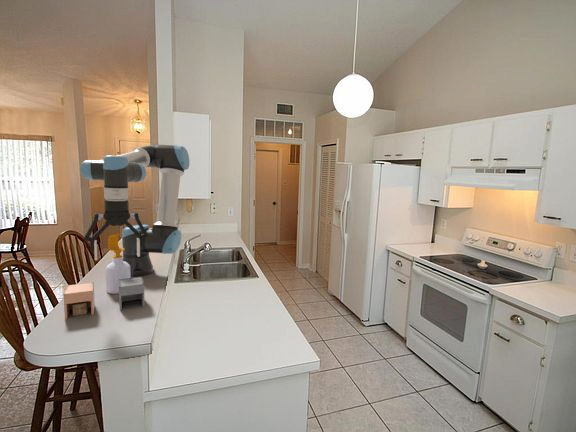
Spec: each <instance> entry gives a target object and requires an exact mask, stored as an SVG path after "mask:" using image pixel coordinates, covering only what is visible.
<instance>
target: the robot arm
mask: <svg viewBox="0 0 576 432" xmlns="http://www.w3.org/2000/svg"><path fill="white" fill-rule="evenodd" d="M146 168H156V169H159V172H160V173H161V181H160V190H159V199H158V206H157V216H156V221H155V222H154V223H152V228H150V225H149V224H142V222H141V220H140V218H139V217H140V216H139V214H138V213H139V212H134V213H133V212H132V213H130V212H129V201H128V199H129V183H138V182H143V180H145V178H146V176H147V169H146ZM189 168H190V156H189V153H188V150H187V148H186V147H185V146H183V145H177V144H175V145H174V144H173V145H171V144H170V145H169V144H157V143H155V144H149V145H144V146H140V147H136V148H133V149H132V151H130V152H126V153H122V154H117V155H105V156H104V157H103V158H102V159H97V160H94V159H88V160H84V161H82V162H81V164H80V166H79V170H80V175H81V176H82V177H83V178H84V180H85V179H86V180H90V181H103V193H104V194H103V196H104V197H103V198H104V199H105V200H104V203H103V204H104V213H103V214H102V213H98V212H95V213H94V217H93V220H92V222H91V224H90V226H89V228H88V229H87V231H86V233H85V235H84V237H83V241H86V242H89V244H90V249H89V250H90V251H92V252H94V261H98V243H97V242H98V241H97V239H98V238H99V236H100V235H101V234H103V232H105V230H106V229H107V228H108V227H109V226H111V227H112V226H113V227H116V226H119V227H121V226H124V225H125V227H124V228H123V229H122V232H121V233H124V234H121V239H122V248H124V249H125V250H123V251H122V259H123V261H125V262H127V263H128V264H129V265H130V274H131V278H136V277H143V276H146V275H149V274H152V273H153V272H154V266H153V265H154V264H153V263H152V260H151V257H150V254H151V253H152V254H165V255H166V254H171V255H172V254H175V253H176V252H177V251H178V249H179V247H180V245H181V242H182V233H181V231H180V230H179V226H178V225H177V224H176V218H177V210H178V200H179V193H180V192H179V191H180V183H181V177H182V176H183V175H184V174H185V171H187V170H189ZM102 218H103V219H104V220H105V222H104V223H103V224H102V225H101V226H100V227H99V228H98V230H97V231H96V232H94V234H93V235H92V233H93V231H94V229H95V228H96V226H97V224H98V222H99V221H101V220H102ZM130 218H132V219H133V220H135V222H136V225H132V224H131V223H130V222H129V221H128V220H129V219H130ZM91 235H92V236H91Z"/></svg>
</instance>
